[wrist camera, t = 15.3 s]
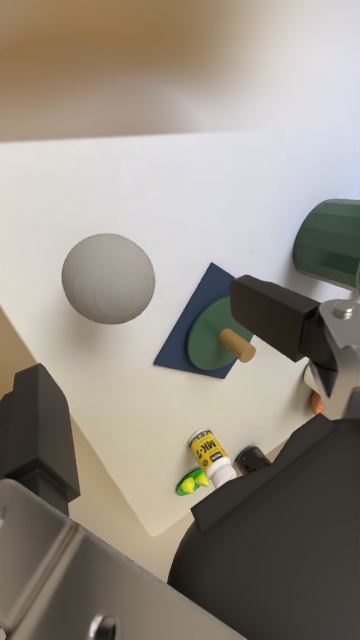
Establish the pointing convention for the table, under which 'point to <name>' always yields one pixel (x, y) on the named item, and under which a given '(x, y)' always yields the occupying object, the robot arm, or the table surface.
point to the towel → (176, 344)
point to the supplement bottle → (211, 457)
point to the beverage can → (252, 460)
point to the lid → (218, 338)
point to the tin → (331, 244)
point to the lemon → (192, 482)
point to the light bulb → (108, 279)
